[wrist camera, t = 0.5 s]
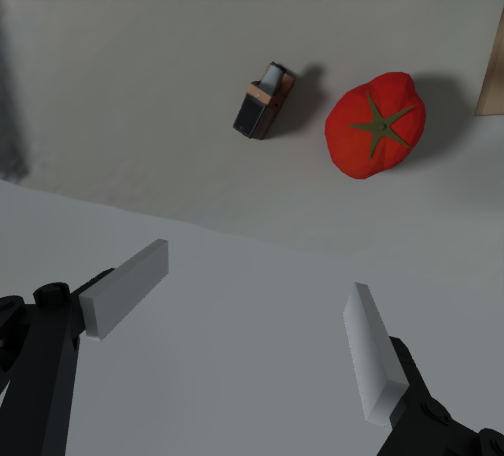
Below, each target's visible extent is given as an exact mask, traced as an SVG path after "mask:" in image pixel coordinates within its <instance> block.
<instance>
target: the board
mask: <svg viewBox="0 0 504 456" xmlns="http://www.w3.org/2000/svg"><path fill="white" fill-rule="evenodd" d="M485 115H504V8H503V12H502V16H501V20H500V23H499V27H498V31H497V34H496V38H495V42H494V45H493V49H492V53H491V57H490V60H489V64H488V68H487V71H486V75H485V79H484V82H483V86H482V90H481V94H480V97H479V101H478V105H477V108H476V112H475V116H485Z"/></svg>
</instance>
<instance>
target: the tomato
mask: <svg viewBox="0 0 504 456" xmlns="http://www.w3.org/2000/svg"><path fill="white" fill-rule="evenodd" d="M425 118H426V114H425V106H424V103H423V101H422V100H421V99H420V97H419V96H418V94H417V93H416V92H415V87H414V82H413V80H412V78H411V77H410V75H409V74H407V73H403V72H390V73H385V74H383V75H381V76H378V77H376V78H374V79H373V80H372V81H370V82H369V83H367V84H363V85H360V86H358V87H356V88H354V89H352V90H350V91H349V92H347V93H346V94H345V95H344V96H343V97H342V98H341V99H340V100H339V102H338V103H337V104H336V106H335V107H334V109H333V110H332V111H331V113H330V114H329V116H328V118H327V119H326V123H325V136H326V140H327V144H328V149H329V152H330V155H331V158H332V161H333V163H334V164H335V165H336V166H337V167H338V168H339V169H340V170H341V171H342V172H343V173H345V174H346V175H348V176H349V177H352V178H355V179H366V178H368V177H370V176H372V175H374V174H377V173H379V172H381V171H384V170H387V169H391V168H393V167H394V166H396V165H397V164H399V163H400V162H402V161H403V160H404V159H405V158H406V156H407V155H408V154H409V153H410V151H411V150H412V149H413V148H414V146H415V145H416V144H417V143H418V141H419V139H420V137H421V135H422V133H423V130H424V124H425Z"/></svg>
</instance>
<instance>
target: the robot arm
mask: <svg viewBox="0 0 504 456" xmlns="http://www.w3.org/2000/svg"><path fill="white" fill-rule="evenodd" d="M167 274H168V241H167V240H162V239H157V240H156V241H155V242H153V243H152V244H150V245H149V246H147V247H146V248H145V249H143V250H142V251H140V252H139V253H137V254H136V255H135V256H133V257H132V258H130V259H129V260H128V261H126V262H125V263H123V264H122V265H121V266H119V267H118V268H116V269H114V268H111V269H108V270H106V271H103V272H102V273H100V274H99V275H97V276H96V277H95V278H93V279H91V280H90V281H89V282H87V283H86V284H84V285H82V286H81V287H80V288H78V289H77V290H75V291H74V292H72V293H71V294H70V290H69V286H68V285H67V284H66V283H62V282H56V283H50V284H47V285H44V286H42V287H40V288H38V289H37V290H36V291H35V292H34V293H33V296H34V299H35V303H36V304H25V303H24V300H23V298H22V297H21V296H15V295H13V296H6V297H3V298H0V395H1V393H2V392H3V390H4V389H5V387H6V386H7V384H8V382H9V381H10V383H9V386H8V389H7V391H6V394H5V397H4V399H3V402H2V405H1V407H0V456H65V451H66V443H67V435H68V428H69V419H70V412H71V405H72V397H73V389H74V382H75V374H76V366H77V359H78V351H79V344H80V337H79V335H80V334H81V333H82V332H83V331H84V330H86V335H87V338H89V339H93V340H96V341H99V342H100V341H101V340H102V339H103V338H104V337H105V336H106V335H107V334H108V333H109V332H110V331H111V330H112V329H113V328H114V327H115V326H116V325H117V324H118V323H119V322H120V321H121V320H122V319H123V318H124V317H125V316H126V315H127V314H128V313H129V312H130V311H131V310H132V309H133V308H134V307H135V306H136V305H137V304H138V303H139V302H140V301H141V300H142V299H143V298H144V297H145V296H146V295H147V294H148V293H149V292H150V291H151V290H152V289H153V288H154V287H155V286H156V285H157V284H158V283H159V282H160V281H161V279H162V278H163V277H165V276H166V275H167ZM343 317H344V322H345V326H346V331H347V336H348V341H349V345H350V350H351V354H352V359H353V364H354V368H355V373H356V377H357V382H358V386H359V391H360V396H361V401H362V405H363V410H364V415H365V419H366V421H367V422H370V423H373V424H377V425H380V426H384V427H385V425H386V423H387V422H388V420H389V419H390V422H391V425H392V429H393V430H392V432H391V433H390V435H389V436H388V438H387V440H386V441H385V443H384V444H383V446H382V448H381V449H380V451H379V453H378V454H377V456H504V435H503V434H501V433H499V432H497V431H495V430H493V429H488V428H484V429H482V430H480V432H479V433H476V432H474V431H473V430H471V429H469V428H467V427H465V426H464V425H462V424H460V423H458V422H456V421H455V420H453V419H452V418H451V415H450V414H449V413H448V411H447V410H446V408H445V407H444V406H443V405H441V404H440V403H439V402H438V401H437V400H435V399H434V398H432V397H431V395H430V393H429V391H428V389H427V387H426V385H425V383H424V381H423V379H422V376H421V374H420V372H419V370H418V368H417V367H416V364H415V362H414V360H413V359H412V356H411V354H410V352H409V350H408V348H407V347H406V345H405V344H404V343H403V342H402V341H401V340H400V339H399V338H395V337H391V336H388V333H387V331H386V329H385V326H384V324H383V321H382V319H381V317H380V314H379V312H378V309H377V307H376V305H375V302H374V300H373V298H372V295H371V293H370V290H369V288H368V286H367V285H365V284H361V283H356V282H355V283H354V286H353V289H352V292H351V294H350V297H349V300H348V302H347V305H346V308H345V311H344V314H343Z"/></svg>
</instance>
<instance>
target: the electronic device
mask: <svg viewBox="0 0 504 456" xmlns="http://www.w3.org/2000/svg"><path fill="white" fill-rule="evenodd" d="M294 82H295V78H293V77H291V76H290V75H288V74H287V73H286V69H284V68H283V67H281V66H279V65H278V64H276V63H274V62H272V63H270V64H269V66H268V68H267V70H266V72H265V73H264V75H263V77H262V79H261V80H260V81H254V82H251V83H250V86H249V88H248V90H247V94H246V96H245V99H244V101H243V104H242V106H241V109H240V111H239V113H238V116H237V118H236V120H235V123H234V124H233V128H235V129H236V130H238V131H239V132H241V133H242V134H243V135H245V136H246V137H248V138H250V139H251V138H254V139H258V140H263V138H264V137H265V135H266V133H267V131H268V129H269V128H270V126H271V124H272V122H273V121H274V119H275V117H276V116H277V114H278V112H279V110H280V109H281V107H282V105H283V103H284V101H285V99H286V98H287V95H288V93H289V91H290V89H291V88H292V87H293V84H294Z"/></svg>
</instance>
